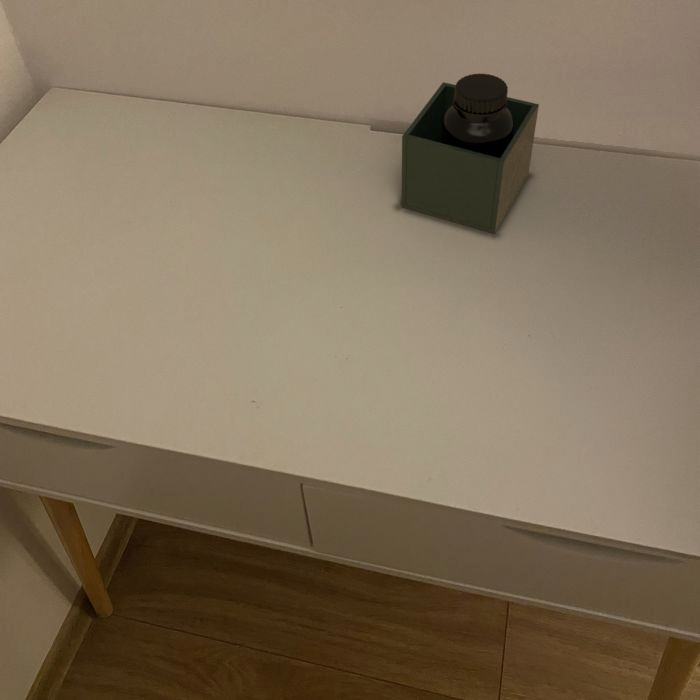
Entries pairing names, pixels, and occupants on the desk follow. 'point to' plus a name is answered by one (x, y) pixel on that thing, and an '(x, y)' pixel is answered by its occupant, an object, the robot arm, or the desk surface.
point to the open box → (464, 167)
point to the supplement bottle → (479, 116)
